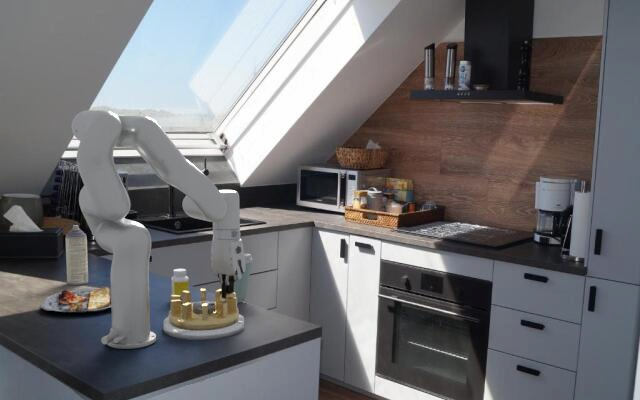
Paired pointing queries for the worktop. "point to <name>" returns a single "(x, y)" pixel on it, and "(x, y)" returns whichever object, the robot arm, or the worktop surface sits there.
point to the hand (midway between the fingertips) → (227, 297)
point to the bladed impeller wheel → (203, 311)
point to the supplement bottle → (179, 282)
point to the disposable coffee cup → (243, 280)
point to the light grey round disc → (203, 331)
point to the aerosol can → (76, 257)
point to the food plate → (79, 300)
